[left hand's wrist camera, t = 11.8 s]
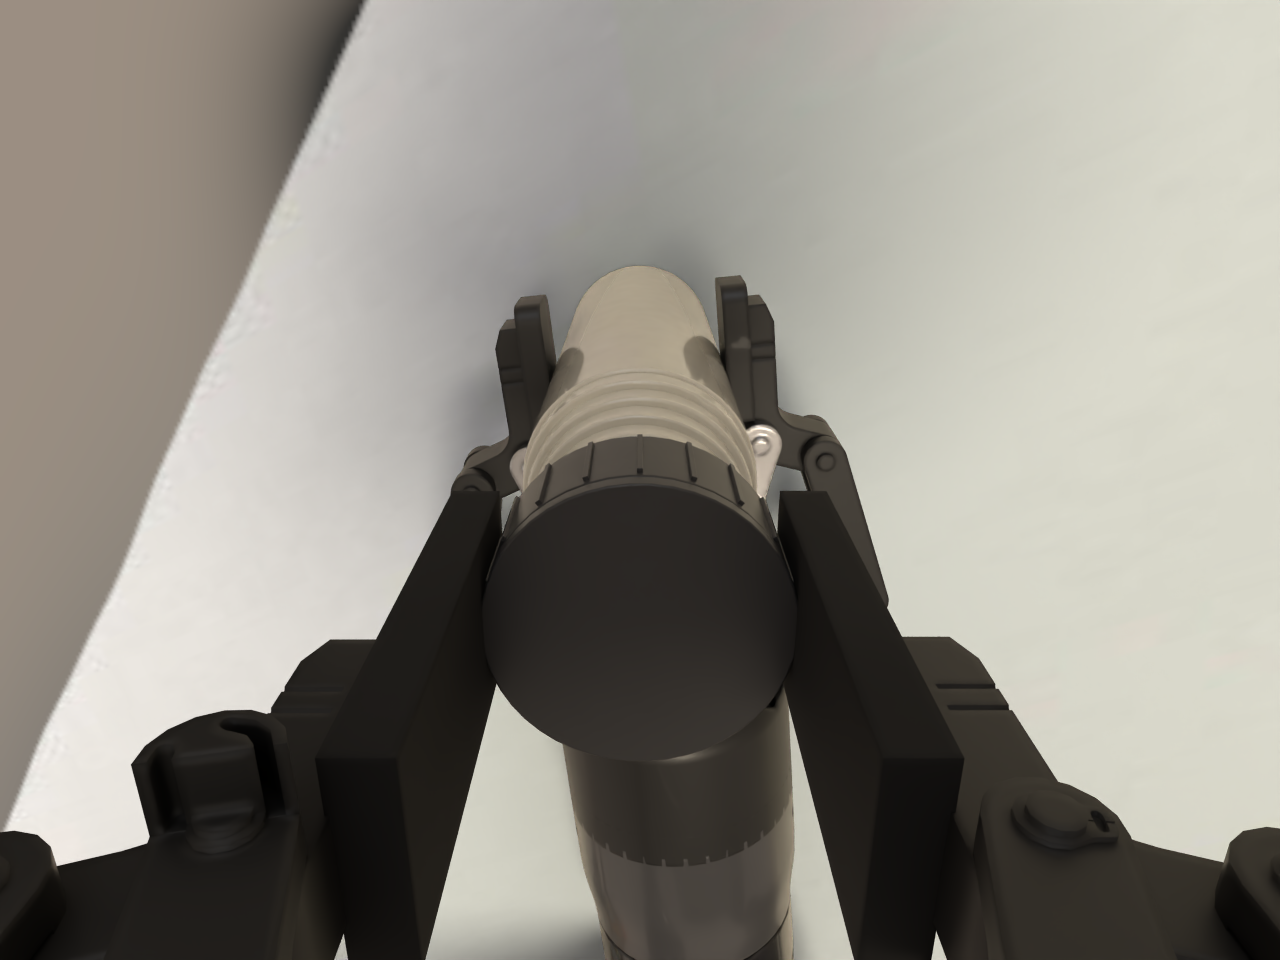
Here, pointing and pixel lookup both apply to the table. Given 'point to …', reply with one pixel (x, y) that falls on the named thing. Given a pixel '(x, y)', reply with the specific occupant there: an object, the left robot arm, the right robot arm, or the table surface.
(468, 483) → the right robot arm
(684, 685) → the cap
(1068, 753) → the table surface
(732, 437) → the bottle
